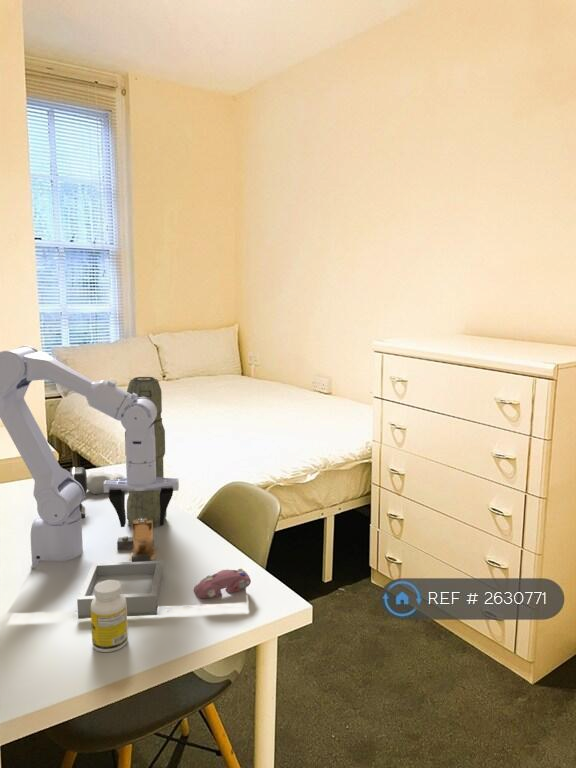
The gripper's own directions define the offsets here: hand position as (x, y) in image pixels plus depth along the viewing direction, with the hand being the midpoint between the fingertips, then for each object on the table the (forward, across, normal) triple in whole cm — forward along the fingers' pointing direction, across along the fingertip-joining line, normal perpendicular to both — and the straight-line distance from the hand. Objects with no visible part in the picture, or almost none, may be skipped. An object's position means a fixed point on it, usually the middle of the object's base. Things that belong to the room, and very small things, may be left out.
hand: (142, 524), depth 120 cm
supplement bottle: (+8, -2, -28) cm, 29 cm away
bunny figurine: (+8, -16, +42) cm, 46 cm away
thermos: (+8, -1, +17) cm, 19 cm away
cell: (+6, 0, 0) cm, 6 cm away
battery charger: (+8, -18, +26) cm, 33 cm away
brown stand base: (+8, 0, 0) cm, 8 cm away
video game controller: (+8, +16, -16) cm, 24 cm away
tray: (+8, -2, -14) cm, 16 cm away
